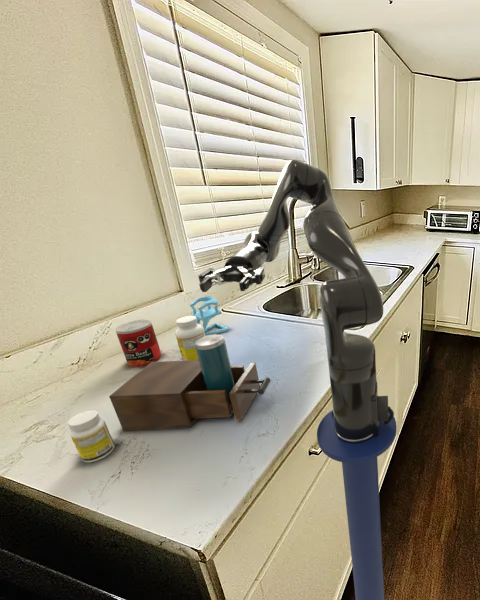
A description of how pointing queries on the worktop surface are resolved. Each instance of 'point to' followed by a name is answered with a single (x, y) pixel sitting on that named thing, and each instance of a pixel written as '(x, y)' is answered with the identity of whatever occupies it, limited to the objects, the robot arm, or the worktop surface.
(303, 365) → the worktop surface
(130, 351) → the canned food
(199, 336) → the supplement bottle
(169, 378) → the cabinet
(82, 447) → the supplement bottle
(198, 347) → the can
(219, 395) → the drawer
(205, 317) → the chair
